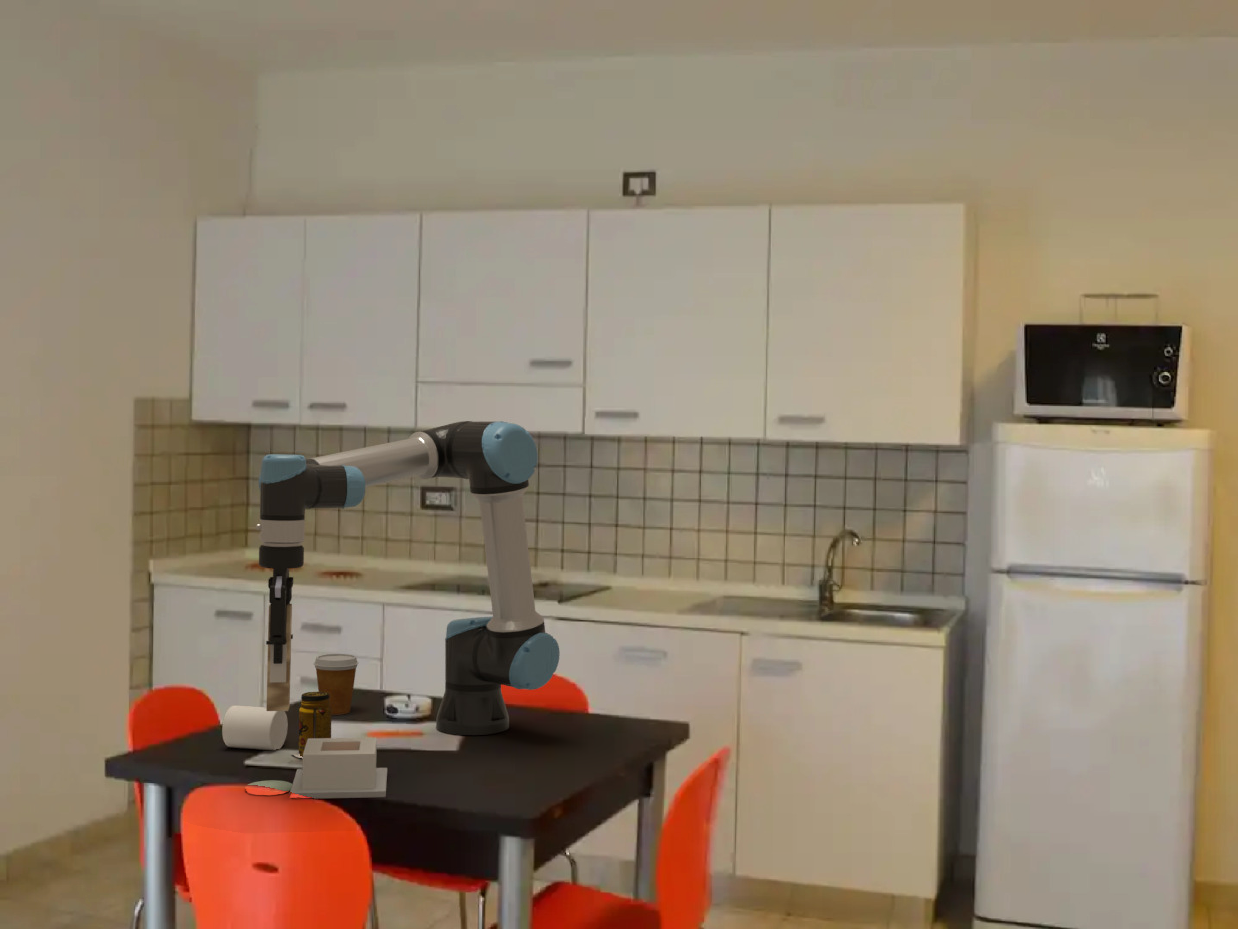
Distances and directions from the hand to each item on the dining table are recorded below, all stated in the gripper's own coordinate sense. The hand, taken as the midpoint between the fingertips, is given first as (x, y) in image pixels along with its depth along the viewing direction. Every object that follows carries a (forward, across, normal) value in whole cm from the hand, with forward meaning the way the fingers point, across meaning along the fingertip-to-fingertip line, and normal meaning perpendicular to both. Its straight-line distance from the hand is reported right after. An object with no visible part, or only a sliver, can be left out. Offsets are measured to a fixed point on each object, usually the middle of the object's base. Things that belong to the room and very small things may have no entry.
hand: (278, 679), depth 243 cm
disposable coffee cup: (+19, -63, +7) cm, 66 cm away
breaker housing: (+19, -2, +11) cm, 22 cm away
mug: (+19, -33, -6) cm, 39 cm away
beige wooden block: (+5, 0, 0) cm, 5 cm away
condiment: (+19, -24, +6) cm, 31 cm away
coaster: (+19, 0, -1) cm, 19 cm away
